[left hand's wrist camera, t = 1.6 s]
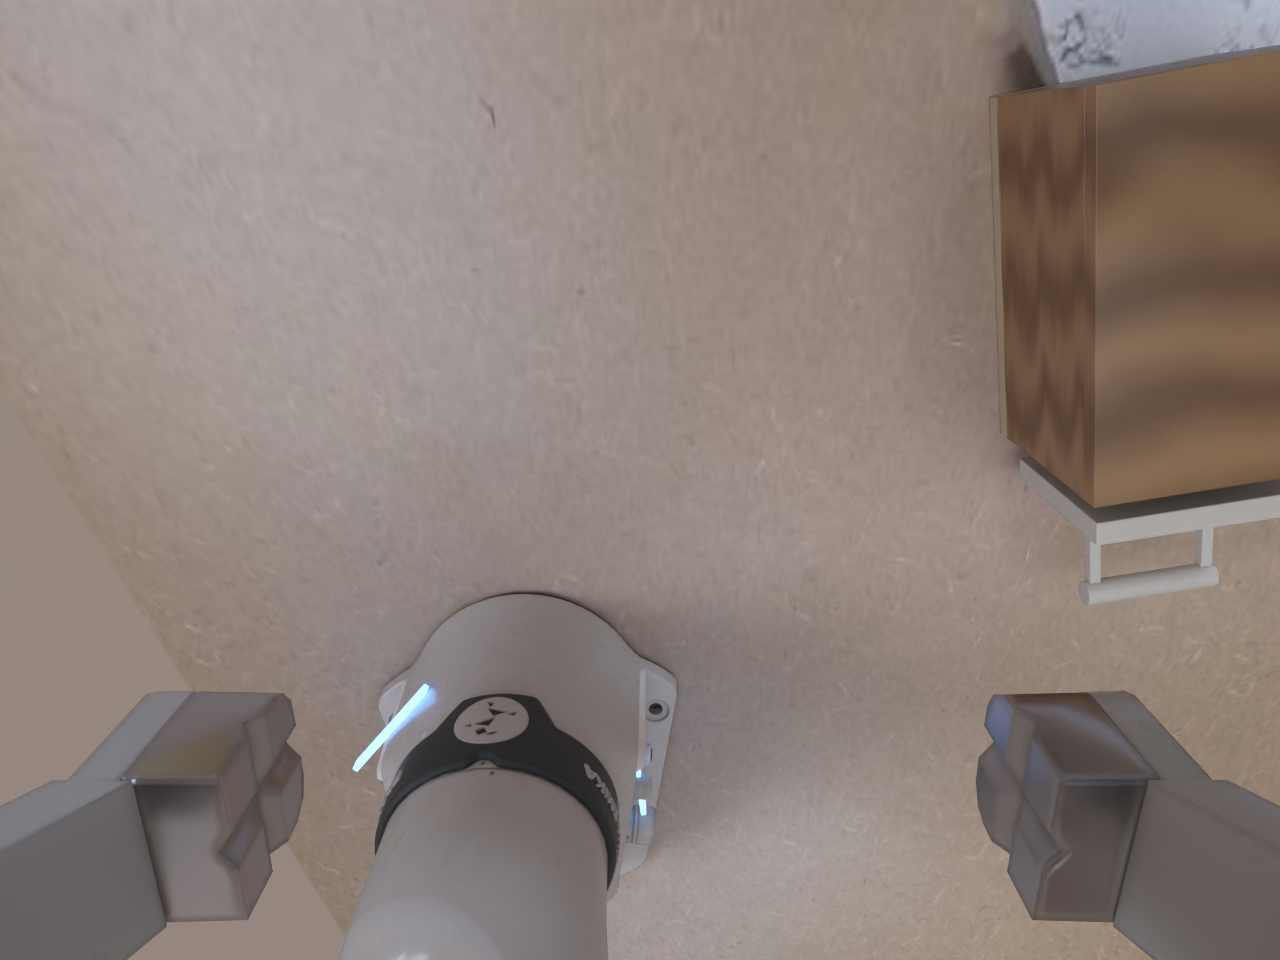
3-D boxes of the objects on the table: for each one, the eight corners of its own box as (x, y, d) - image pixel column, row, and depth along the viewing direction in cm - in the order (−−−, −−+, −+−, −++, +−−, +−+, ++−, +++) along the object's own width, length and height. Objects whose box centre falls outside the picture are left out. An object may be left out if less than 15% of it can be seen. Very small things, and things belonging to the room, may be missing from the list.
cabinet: (1202, 399, 50) (1350, 468, 39) (1000, 433, 50) (1093, 508, 40) (1220, 53, 44) (1402, 26, 33) (989, 96, 44) (1096, 83, 34)
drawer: (1195, 545, 52) (1303, 625, 43) (1021, 572, 53) (1095, 655, 44) (1216, 137, 44) (1353, 137, 35) (1011, 175, 45) (1099, 183, 36)
